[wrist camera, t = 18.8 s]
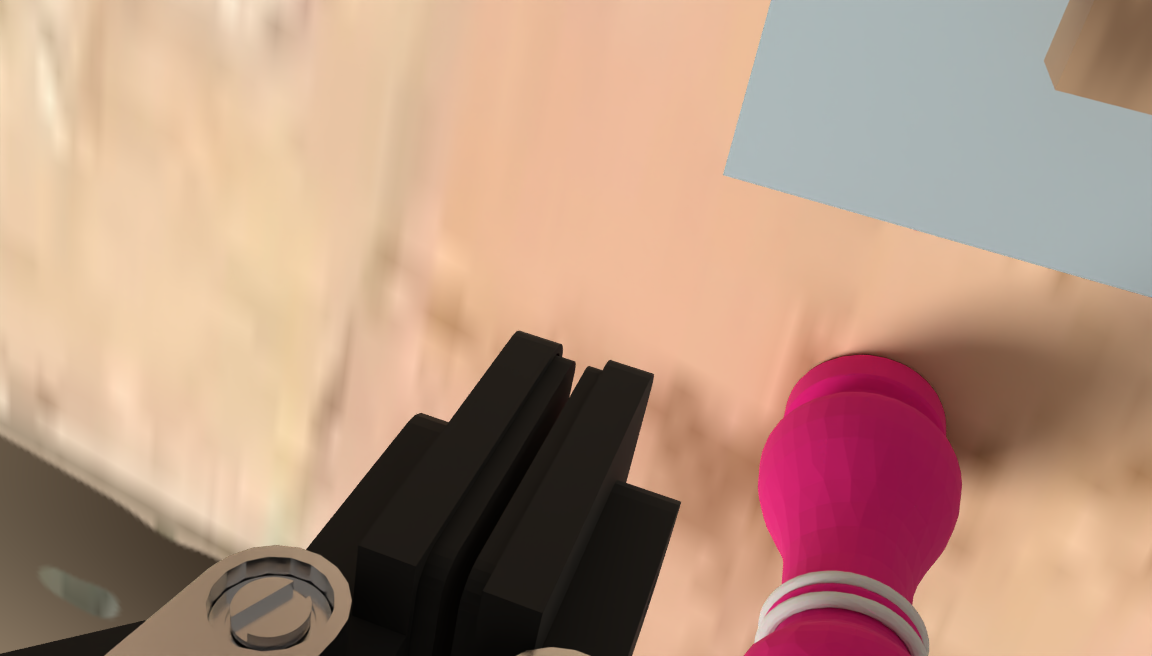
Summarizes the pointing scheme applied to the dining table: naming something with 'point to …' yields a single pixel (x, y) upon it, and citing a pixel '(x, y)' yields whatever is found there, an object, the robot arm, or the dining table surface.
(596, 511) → the robot arm
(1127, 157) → the board
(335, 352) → the dining table surface
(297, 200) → the dining table surface
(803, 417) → the pepper mill
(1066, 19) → the walnut slab
